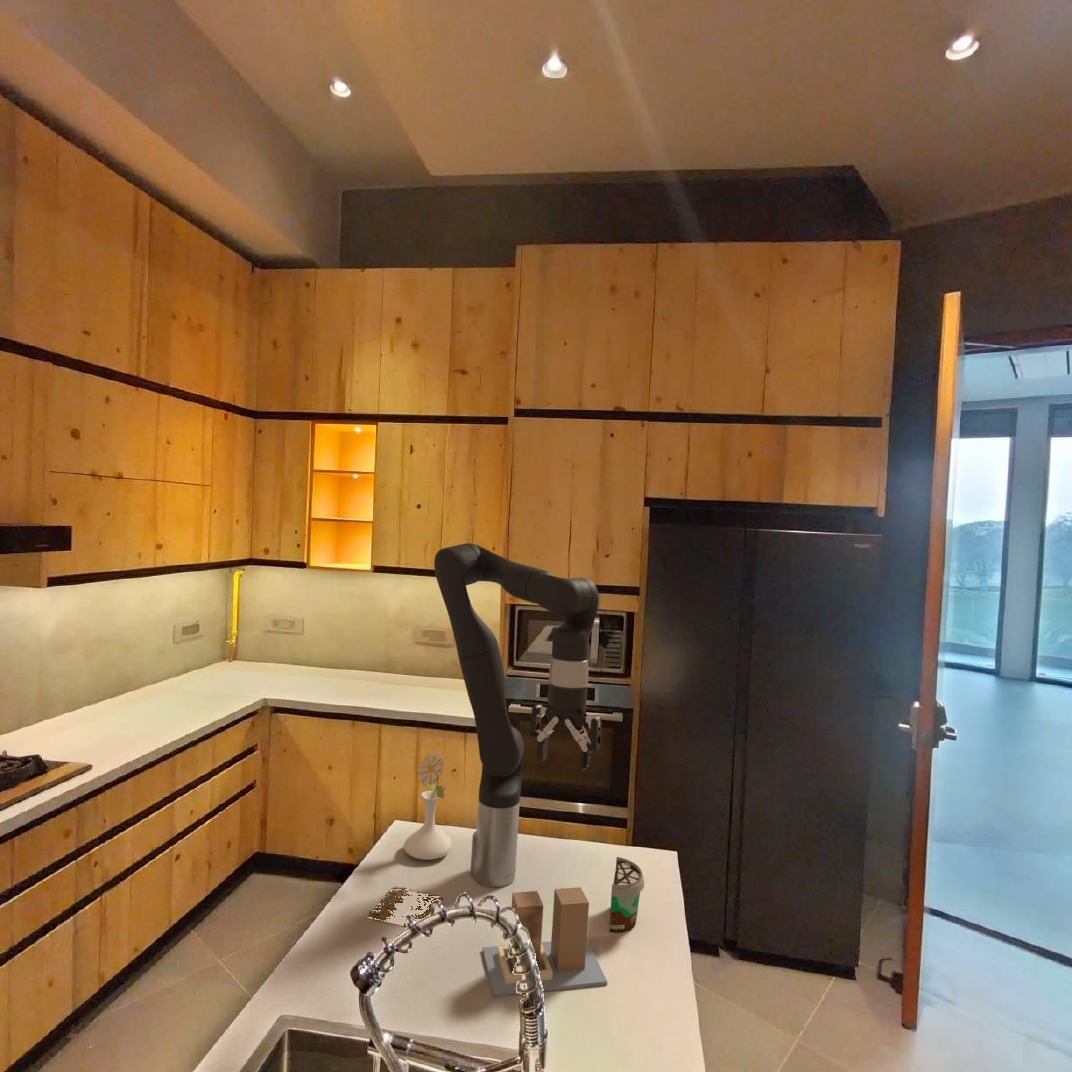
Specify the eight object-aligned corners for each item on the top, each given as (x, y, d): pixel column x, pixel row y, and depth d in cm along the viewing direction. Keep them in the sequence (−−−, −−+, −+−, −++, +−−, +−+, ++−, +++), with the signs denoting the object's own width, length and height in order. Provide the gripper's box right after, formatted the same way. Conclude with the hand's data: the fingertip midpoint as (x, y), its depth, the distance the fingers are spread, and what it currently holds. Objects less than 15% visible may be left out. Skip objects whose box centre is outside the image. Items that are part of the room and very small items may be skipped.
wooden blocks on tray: (493, 996, 109) (498, 922, 109) (482, 950, 121) (486, 883, 121) (607, 984, 114) (611, 912, 114) (586, 941, 125) (590, 876, 125)
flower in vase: (398, 844, 158) (404, 742, 158) (444, 838, 163) (450, 738, 163) (411, 872, 146) (417, 760, 146) (459, 864, 151) (466, 756, 151)
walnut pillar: (513, 975, 114) (517, 907, 114) (508, 958, 118) (512, 892, 118) (539, 973, 115) (543, 905, 115) (533, 956, 119) (537, 890, 119)
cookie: (421, 933, 126) (422, 928, 126) (364, 920, 129) (365, 915, 129) (445, 899, 137) (445, 895, 137) (392, 888, 140) (392, 884, 140)
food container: (640, 942, 126) (643, 891, 126) (608, 936, 127) (611, 885, 127) (643, 907, 138) (646, 860, 138) (613, 902, 139) (616, 855, 139)
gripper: (526, 678, 126) (521, 762, 126) (595, 691, 120) (590, 779, 120) (543, 672, 133) (538, 751, 133) (609, 683, 127) (604, 767, 127)
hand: (563, 764), depth 127 cm, fingers open, 8 cm apart
